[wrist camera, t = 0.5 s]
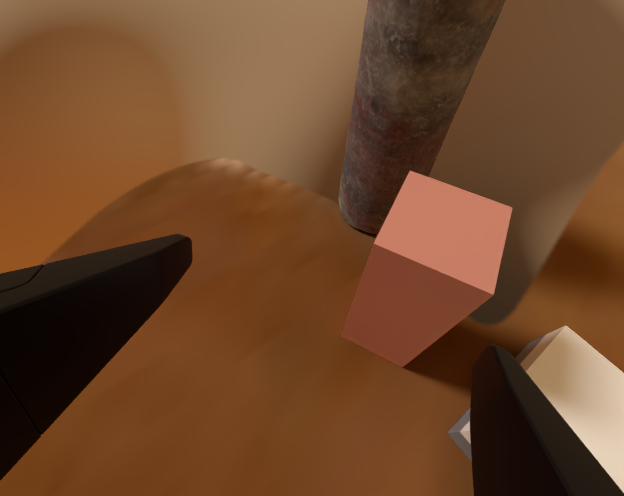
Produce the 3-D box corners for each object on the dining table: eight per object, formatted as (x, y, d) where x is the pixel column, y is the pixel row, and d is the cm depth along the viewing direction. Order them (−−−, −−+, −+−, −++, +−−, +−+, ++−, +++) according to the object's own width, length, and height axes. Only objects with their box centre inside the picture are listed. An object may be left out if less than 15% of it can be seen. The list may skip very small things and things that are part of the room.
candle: (338, 175, 34) (377, -101, 17) (407, 180, 33) (516, -91, 17) (335, 232, 30) (383, -55, 13) (413, 240, 29) (567, -42, 13)
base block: (593, 604, 17) (666, 643, 14) (447, 433, 21) (475, 430, 18) (667, 466, 20) (740, 469, 17) (529, 342, 24) (566, 325, 21)
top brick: (402, 367, 23) (493, 294, 12) (340, 336, 24) (373, 243, 13) (421, 310, 26) (512, 207, 15) (364, 284, 27) (409, 170, 16)
